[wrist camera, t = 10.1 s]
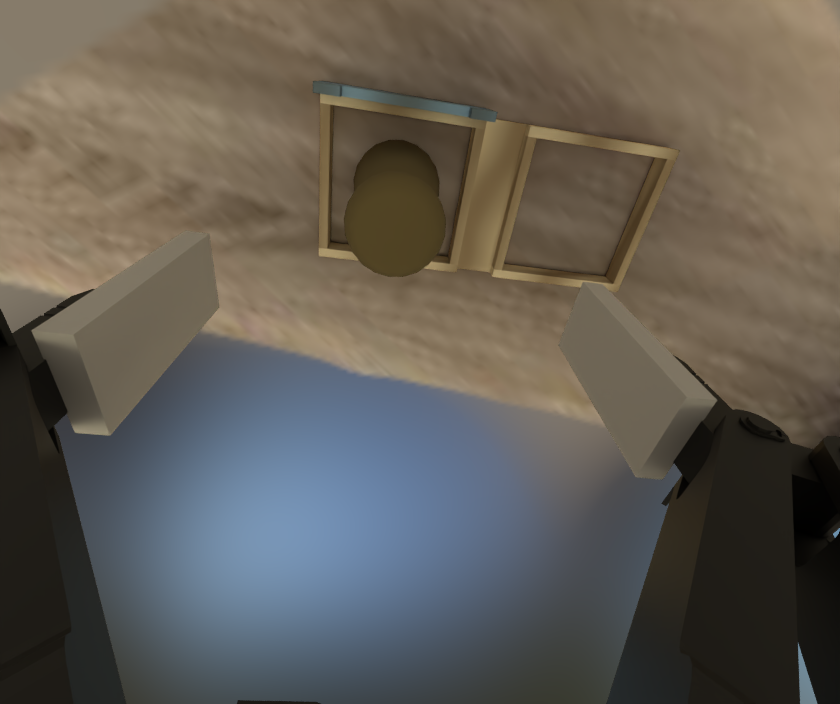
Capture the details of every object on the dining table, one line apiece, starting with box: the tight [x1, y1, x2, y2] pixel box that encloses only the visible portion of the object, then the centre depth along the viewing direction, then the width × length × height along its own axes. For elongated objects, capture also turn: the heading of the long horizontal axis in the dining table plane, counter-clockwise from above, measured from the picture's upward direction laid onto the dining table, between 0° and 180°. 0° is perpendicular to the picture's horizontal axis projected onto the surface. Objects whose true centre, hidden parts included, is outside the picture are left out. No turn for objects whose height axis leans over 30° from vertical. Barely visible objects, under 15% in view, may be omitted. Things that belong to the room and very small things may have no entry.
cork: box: [344, 140, 446, 277], centre depth 24 cm, size 6×6×11 cm
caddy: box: [313, 81, 680, 292], centre depth 28 cm, size 23×11×4 cm, turn 82°
